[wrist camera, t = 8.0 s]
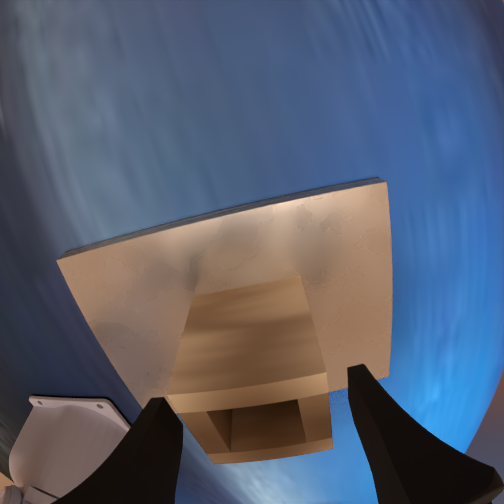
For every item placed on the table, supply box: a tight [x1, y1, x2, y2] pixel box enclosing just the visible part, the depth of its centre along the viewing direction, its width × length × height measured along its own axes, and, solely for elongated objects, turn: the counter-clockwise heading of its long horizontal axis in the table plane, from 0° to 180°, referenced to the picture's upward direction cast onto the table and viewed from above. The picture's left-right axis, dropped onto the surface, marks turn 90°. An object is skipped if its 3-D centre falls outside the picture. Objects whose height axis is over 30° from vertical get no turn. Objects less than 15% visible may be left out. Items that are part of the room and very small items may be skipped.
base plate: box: [56, 177, 392, 414], centre depth 14 cm, size 16×12×5 cm
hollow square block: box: [167, 276, 333, 464], centre depth 13 cm, size 5×5×6 cm
